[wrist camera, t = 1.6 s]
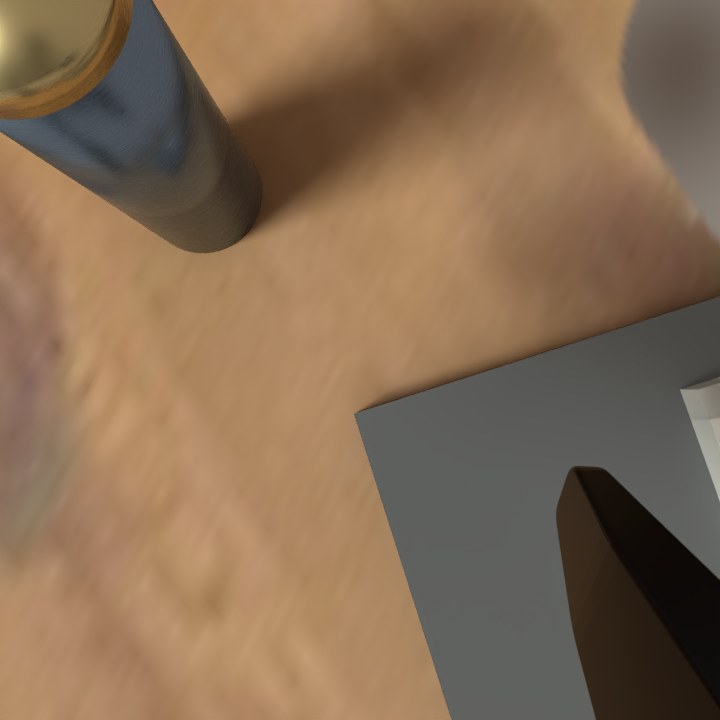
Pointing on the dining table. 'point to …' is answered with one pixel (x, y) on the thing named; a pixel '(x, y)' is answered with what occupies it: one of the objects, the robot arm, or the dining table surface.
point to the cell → (125, 117)
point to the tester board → (541, 496)
